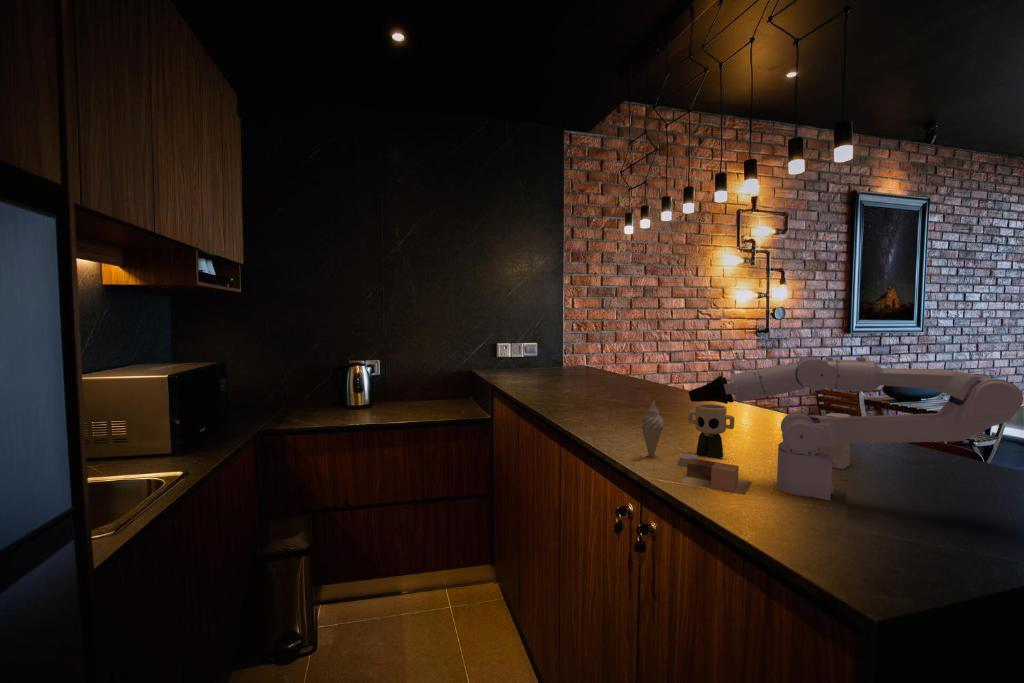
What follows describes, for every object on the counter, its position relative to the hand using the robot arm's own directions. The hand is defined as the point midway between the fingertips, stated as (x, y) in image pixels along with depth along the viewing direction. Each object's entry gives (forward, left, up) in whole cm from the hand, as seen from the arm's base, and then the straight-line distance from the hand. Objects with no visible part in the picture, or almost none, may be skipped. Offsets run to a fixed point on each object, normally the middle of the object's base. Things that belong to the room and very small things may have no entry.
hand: (692, 396), depth 104 cm
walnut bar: (-3, 0, -18) cm, 18 cm away
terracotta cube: (-8, +5, -17) cm, 19 cm away
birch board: (-6, +3, -18) cm, 19 cm away
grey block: (+2, -6, -18) cm, 19 cm away
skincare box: (-26, -30, -18) cm, 44 cm away
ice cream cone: (+11, -7, -18) cm, 22 cm away
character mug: (0, -18, -18) cm, 26 cm away
